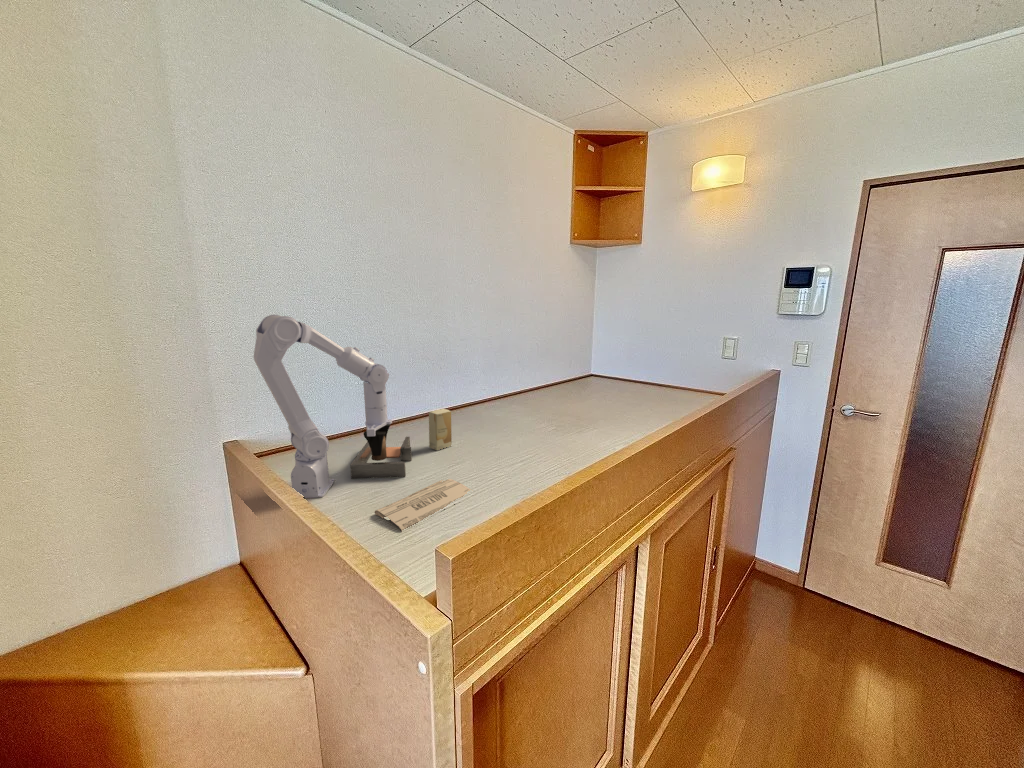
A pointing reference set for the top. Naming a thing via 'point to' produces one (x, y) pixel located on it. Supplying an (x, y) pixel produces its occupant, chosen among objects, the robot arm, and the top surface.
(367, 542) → the top surface
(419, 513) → the newspaper
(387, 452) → the pad
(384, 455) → the brown cylinder
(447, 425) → the skincare box
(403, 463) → the rail channel
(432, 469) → the top surface
